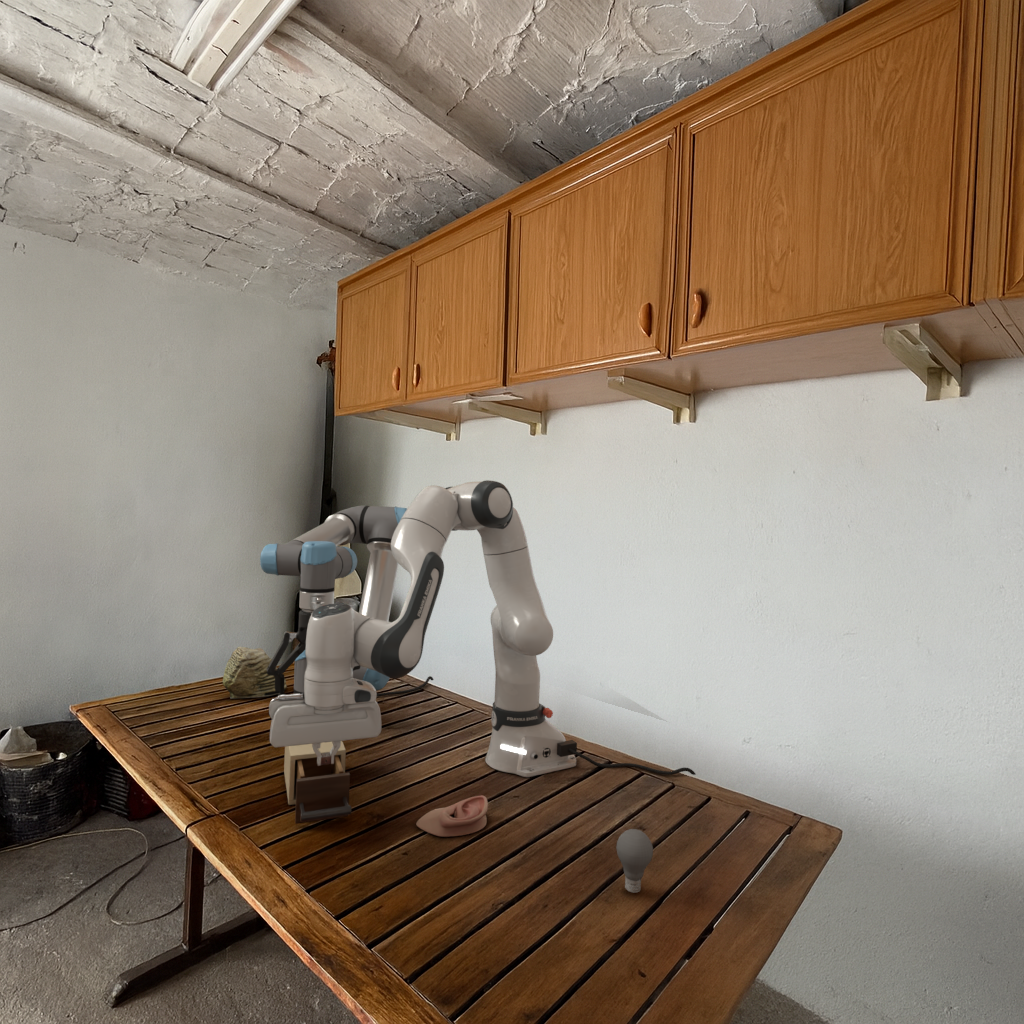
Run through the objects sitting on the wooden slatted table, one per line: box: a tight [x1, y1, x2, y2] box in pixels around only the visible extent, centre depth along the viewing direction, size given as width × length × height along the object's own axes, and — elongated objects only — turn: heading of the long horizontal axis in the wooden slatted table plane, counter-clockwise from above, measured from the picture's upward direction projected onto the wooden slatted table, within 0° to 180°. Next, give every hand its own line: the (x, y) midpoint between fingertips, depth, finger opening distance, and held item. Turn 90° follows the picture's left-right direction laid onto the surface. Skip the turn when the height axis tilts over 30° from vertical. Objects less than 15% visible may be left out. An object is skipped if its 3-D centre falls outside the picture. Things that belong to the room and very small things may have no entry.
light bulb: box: [615, 828, 654, 894], centre depth 106 cm, size 6×6×10 cm
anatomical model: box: [415, 795, 489, 838], centre depth 125 cm, size 13×4×12 cm
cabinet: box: [283, 741, 347, 806], centre depth 139 cm, size 17×11×10 cm, turn 23°
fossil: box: [222, 646, 288, 699], centre depth 198 cm, size 9×18×15 cm, turn 132°
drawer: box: [294, 755, 352, 825], centre depth 127 cm, size 21×10×8 cm, turn 23°
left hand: (313, 702), depth 144 cm, fingers open, 13 cm apart
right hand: (325, 763), depth 120 cm, fingers closed
